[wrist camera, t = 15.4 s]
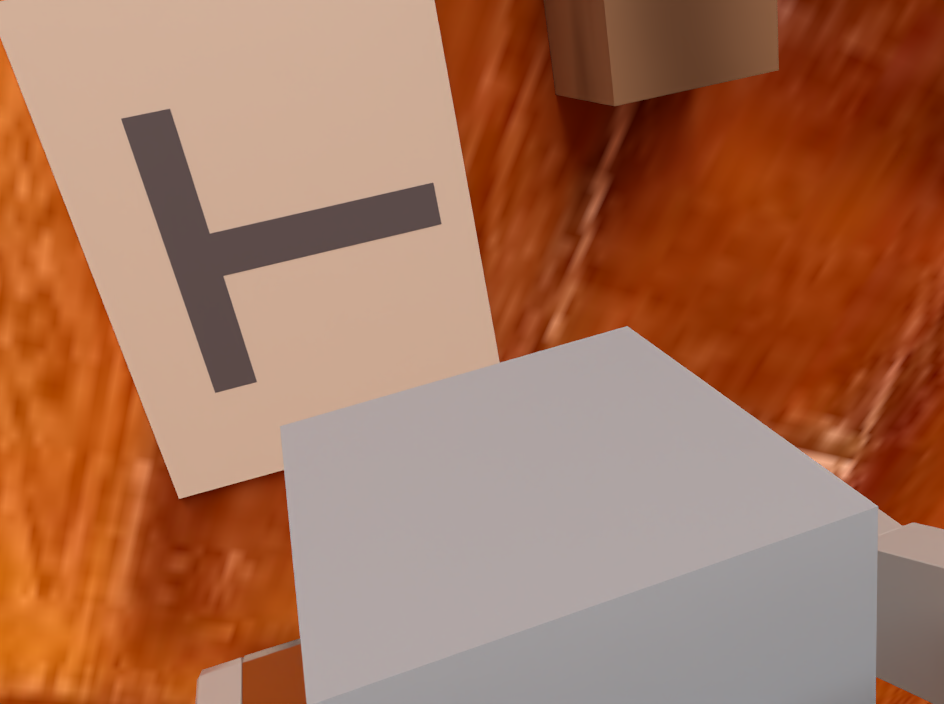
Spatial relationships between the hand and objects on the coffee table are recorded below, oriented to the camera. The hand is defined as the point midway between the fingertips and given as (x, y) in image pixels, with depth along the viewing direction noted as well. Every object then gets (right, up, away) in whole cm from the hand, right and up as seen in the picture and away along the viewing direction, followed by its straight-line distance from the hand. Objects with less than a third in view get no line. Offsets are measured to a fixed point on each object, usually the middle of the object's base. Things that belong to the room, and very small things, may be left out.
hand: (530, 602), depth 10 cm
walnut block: (+4, +15, +16) cm, 22 cm away
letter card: (-7, +7, +16) cm, 19 cm away
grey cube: (0, +1, +2) cm, 2 cm away
